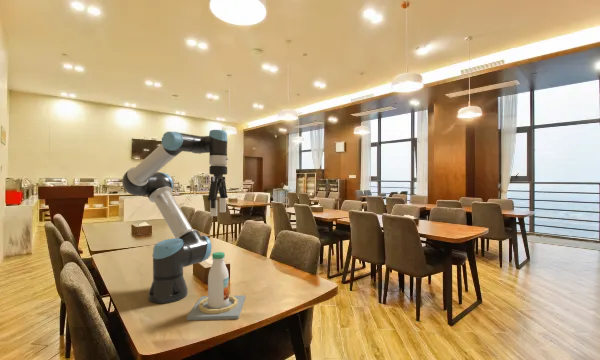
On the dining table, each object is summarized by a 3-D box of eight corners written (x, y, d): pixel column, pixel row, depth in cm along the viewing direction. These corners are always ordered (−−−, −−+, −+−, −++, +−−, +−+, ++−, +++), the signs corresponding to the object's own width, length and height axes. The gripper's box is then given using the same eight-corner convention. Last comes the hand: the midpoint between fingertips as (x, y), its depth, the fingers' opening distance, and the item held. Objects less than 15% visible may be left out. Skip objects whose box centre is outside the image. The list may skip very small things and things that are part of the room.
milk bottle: (217, 311, 107) (217, 256, 107) (203, 306, 111) (203, 253, 111) (233, 303, 113) (233, 252, 113) (219, 299, 117) (219, 249, 117)
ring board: (186, 320, 102) (186, 313, 102) (201, 299, 120) (201, 293, 120) (238, 318, 103) (238, 312, 103) (245, 298, 121) (245, 292, 121)
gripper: (218, 164, 115) (218, 217, 115) (233, 166, 140) (233, 210, 140) (199, 164, 115) (199, 217, 115) (218, 166, 140) (218, 210, 140)
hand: (218, 214), depth 128 cm, fingers open, 13 cm apart
